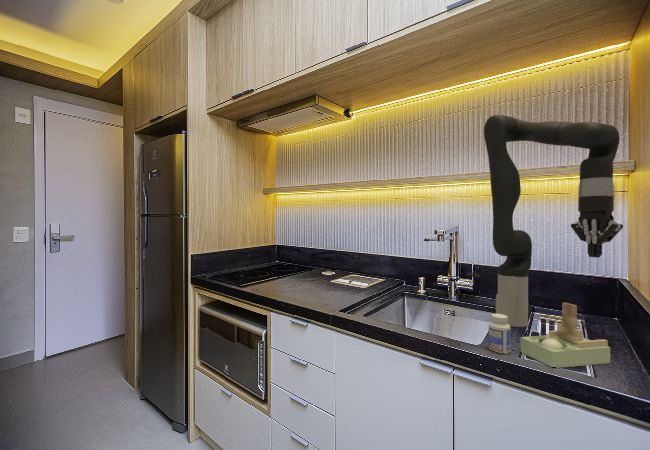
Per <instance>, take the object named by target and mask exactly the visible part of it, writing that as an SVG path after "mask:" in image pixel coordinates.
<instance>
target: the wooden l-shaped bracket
mask: <svg viewBox="0 0 650 450" xmlns="http://www.w3.org/2000/svg"><path fill="white" fill-rule="evenodd" d="M561 305H562V307H561V310H562V312H561V313H562V317H561V319H562V321H561V322H559V323H557V324H556V330H557V337H559V338H562V339H565V340H567V341H570V342H572V343H575V344H577V341H583V338H584V337H583V333H584V332H583V330H582V329H579V328H578V305H577V304H572V303H569V302H562V303H561Z"/></svg>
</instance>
